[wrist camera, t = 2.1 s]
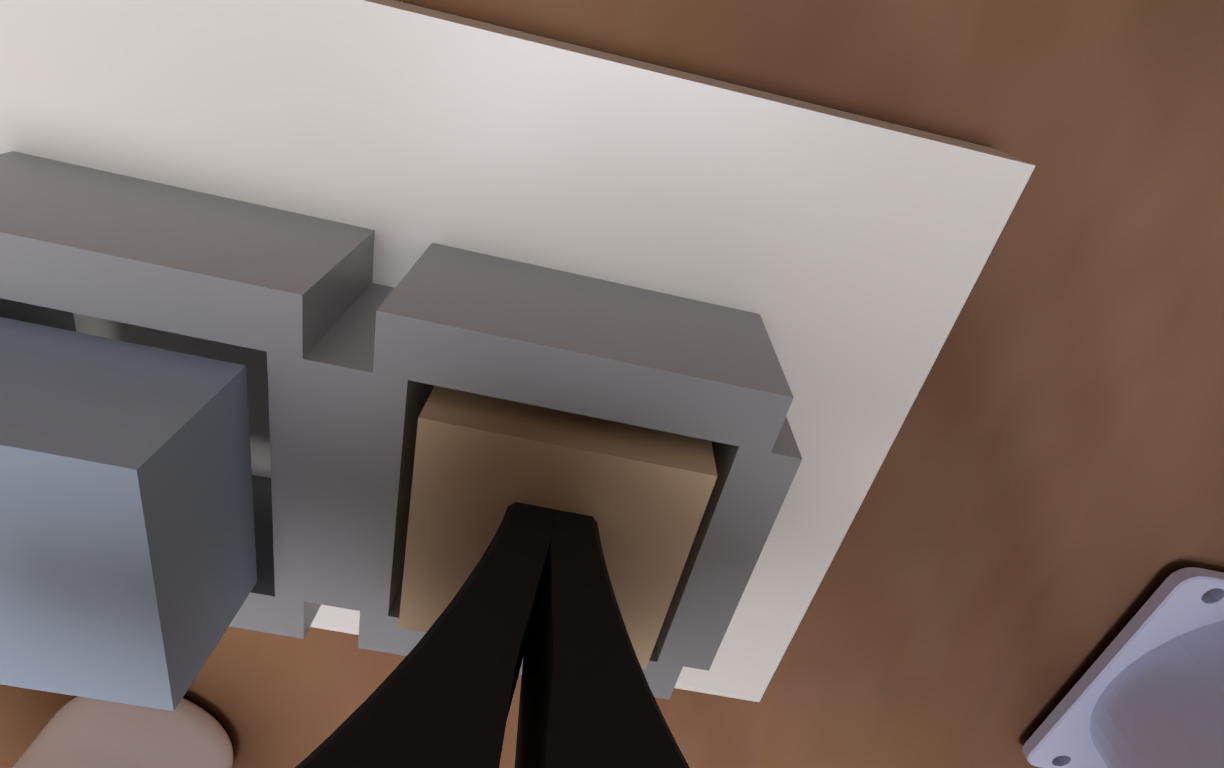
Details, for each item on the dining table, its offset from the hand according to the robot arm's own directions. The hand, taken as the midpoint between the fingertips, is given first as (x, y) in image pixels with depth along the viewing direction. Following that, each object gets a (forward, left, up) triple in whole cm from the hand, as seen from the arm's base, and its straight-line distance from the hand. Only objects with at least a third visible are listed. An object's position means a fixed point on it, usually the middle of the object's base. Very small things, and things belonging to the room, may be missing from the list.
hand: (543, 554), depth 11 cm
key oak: (0, 0, -2) cm, 2 cm away
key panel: (+3, 0, -5) cm, 6 cm away
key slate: (+7, 0, 0) cm, 7 cm away
